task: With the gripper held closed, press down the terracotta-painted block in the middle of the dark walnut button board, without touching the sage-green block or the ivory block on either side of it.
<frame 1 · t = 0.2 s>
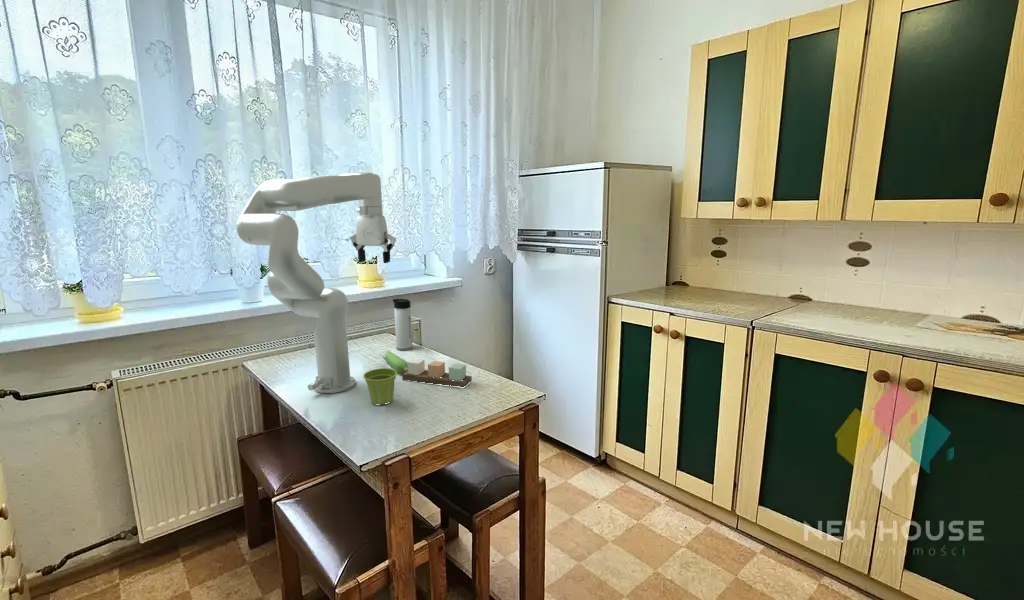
hand: (374, 262, 169), 36 cm above the table, tool pointing down, fingers open, 9 cm apart
edible corn: (396, 368, 171), on the table
travel mug: (404, 349, 192), on the table
sage block: (457, 372, 155), point 4 cm above the table, slide at 0.0 cm
terracotta block: (436, 369, 158), point 4 cm above the table, slide at 0.0 cm
button board: (436, 381, 159), on the table
plant pot: (382, 402, 143), on the table
ivory block: (416, 366, 160), point 4 cm above the table, slide at 0.0 cm
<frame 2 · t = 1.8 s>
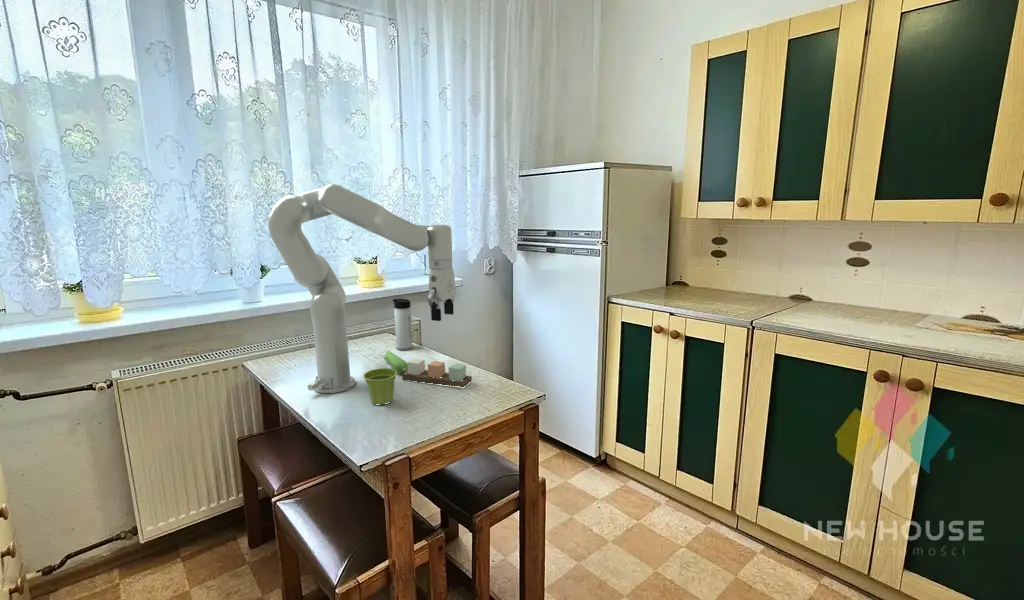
hand: (442, 317, 159), 20 cm above the table, tool pointing down, fingers open, 8 cm apart
nothing on the table moved.
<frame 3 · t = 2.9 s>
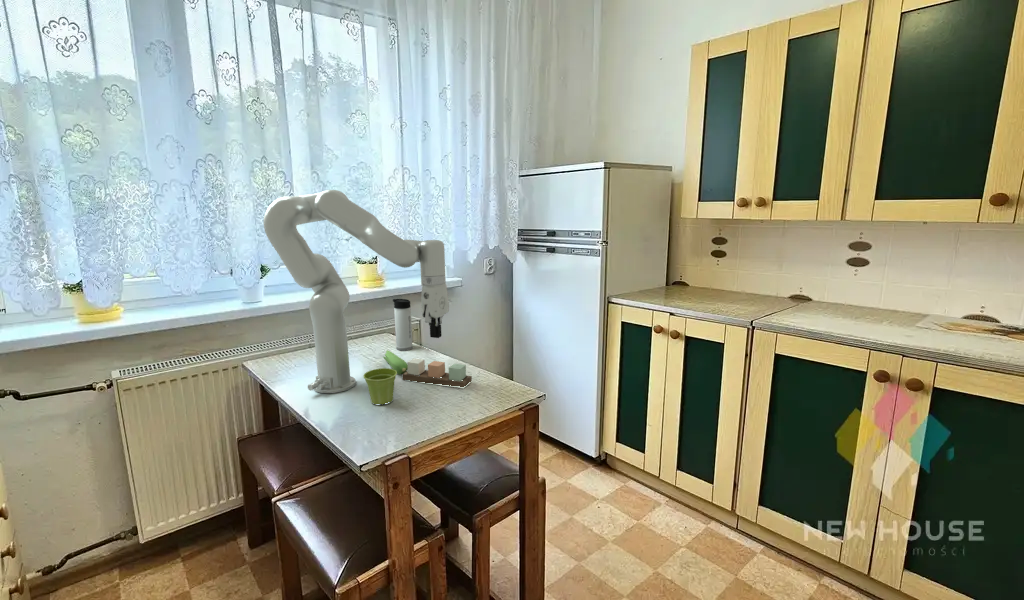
hand: (435, 336, 156), 15 cm above the table, tool pointing down, fingers closed
nothing on the table moved.
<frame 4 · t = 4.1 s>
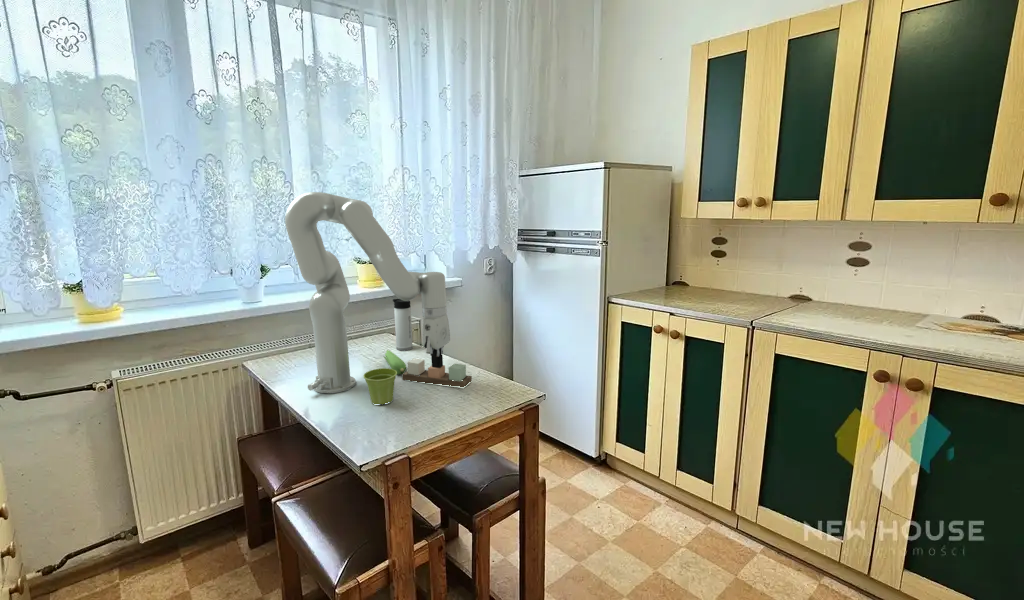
hand: (437, 366, 158), 5 cm above the table, tool pointing down, fingers closed
terracotta block: (436, 372, 158), point 3 cm above the table, slide at -1.1 cm, touching gripper
everything else where it was.
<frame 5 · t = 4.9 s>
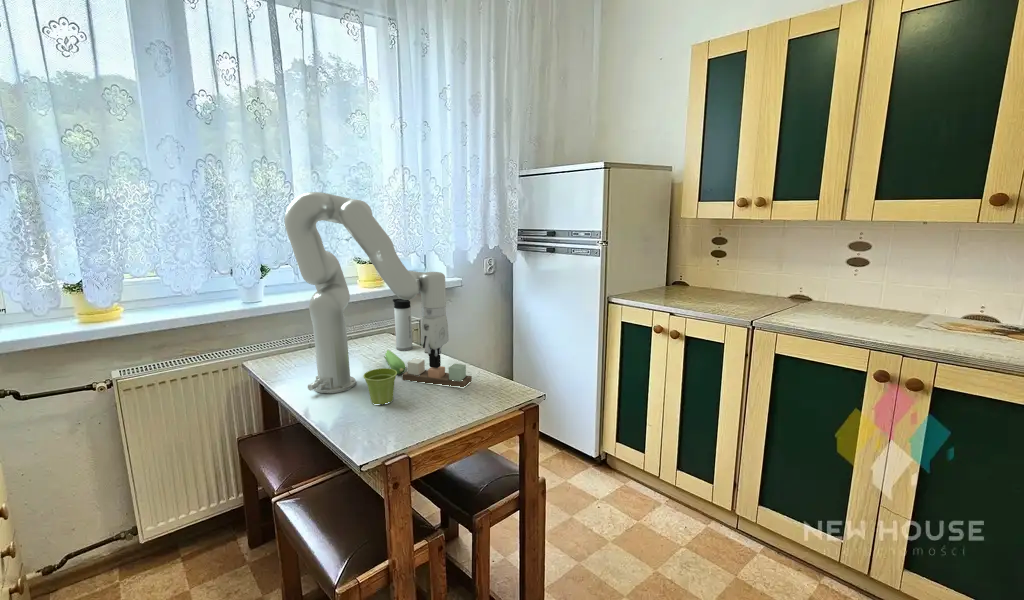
hand: (435, 366, 158), 5 cm above the table, tool pointing down, fingers closed
terracotta block: (436, 373, 158), point 2 cm above the table, slide at -1.6 cm
everything else where it was.
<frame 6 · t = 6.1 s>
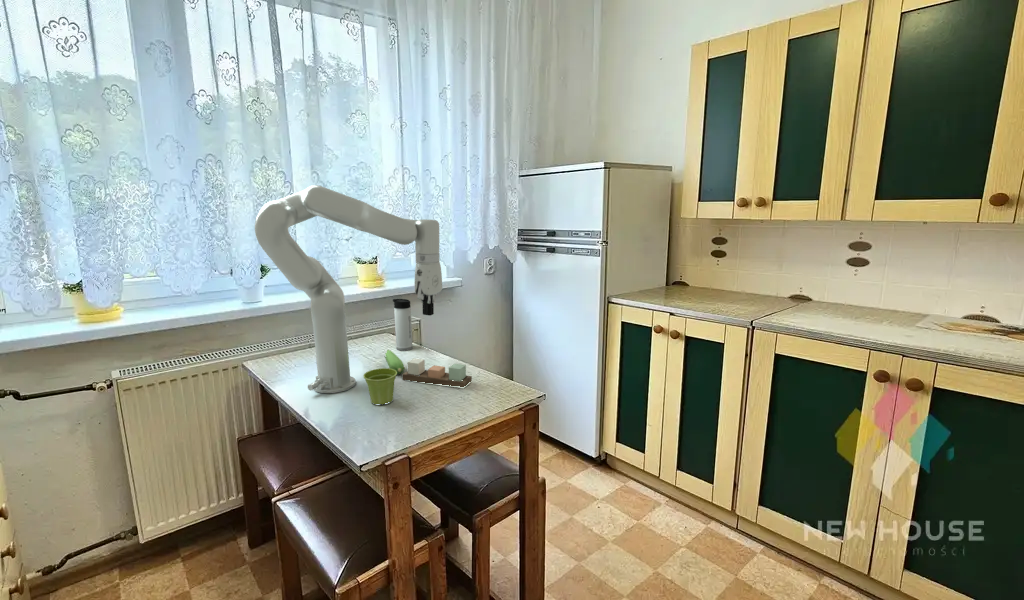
hand: (428, 314, 160), 21 cm above the table, tool pointing down, fingers closed
nothing on the table moved.
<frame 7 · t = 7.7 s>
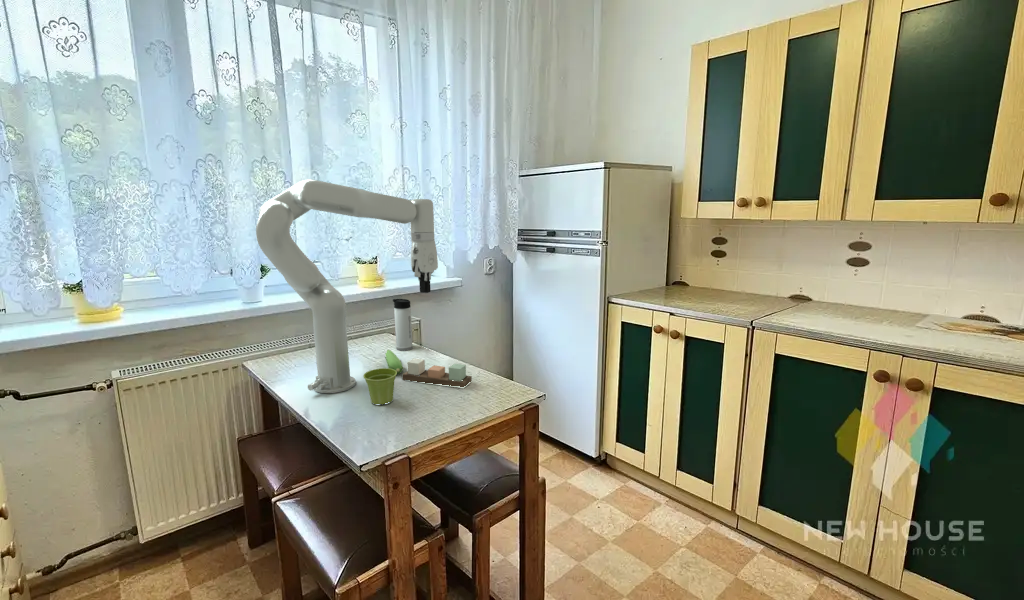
hand: (425, 292, 164), 27 cm above the table, tool pointing down, fingers closed
at the end: terracotta block slide at -1.6 cm; sage block slide at 0.0 cm; ivory block slide at 0.0 cm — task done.
